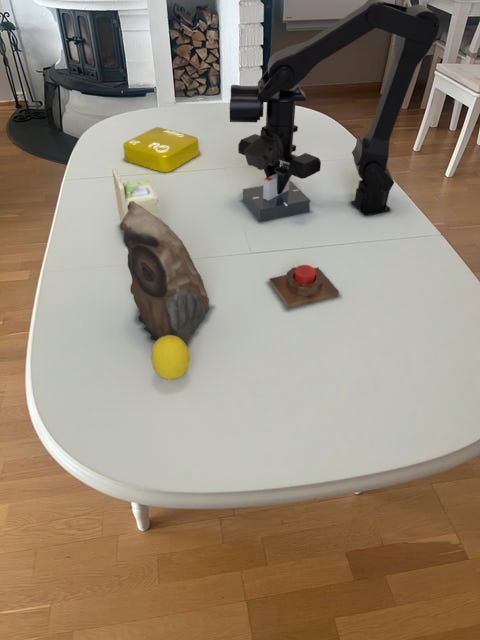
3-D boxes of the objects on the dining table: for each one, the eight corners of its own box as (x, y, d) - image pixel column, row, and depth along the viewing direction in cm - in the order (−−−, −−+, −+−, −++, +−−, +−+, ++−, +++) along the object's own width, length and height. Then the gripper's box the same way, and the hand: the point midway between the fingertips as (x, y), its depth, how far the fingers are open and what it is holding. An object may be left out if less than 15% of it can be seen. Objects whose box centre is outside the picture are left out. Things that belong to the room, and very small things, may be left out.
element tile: (201, 153, 139) (201, 135, 136) (166, 174, 130) (165, 155, 127) (158, 141, 145) (156, 124, 142) (121, 160, 136) (119, 142, 133)
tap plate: (288, 191, 123) (289, 178, 121) (310, 213, 115) (311, 200, 113) (241, 199, 120) (241, 187, 118) (260, 223, 112) (261, 210, 110)
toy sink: (163, 239, 107) (157, 180, 98) (128, 245, 105) (118, 186, 97) (154, 219, 113) (147, 162, 104) (120, 225, 111) (110, 167, 103)
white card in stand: (283, 187, 118) (284, 168, 115) (288, 190, 117) (290, 170, 114) (262, 198, 114) (263, 178, 111) (268, 200, 113) (269, 180, 110)
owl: (180, 355, 82) (170, 248, 68) (111, 335, 85) (89, 229, 72) (213, 308, 90) (209, 205, 77) (149, 291, 94) (135, 190, 81)
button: (308, 271, 95) (309, 263, 93) (318, 282, 92) (319, 274, 91) (291, 275, 94) (291, 267, 92) (299, 286, 91) (300, 278, 90)
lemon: (154, 364, 80) (149, 325, 75) (190, 362, 81) (187, 323, 75) (153, 391, 76) (147, 352, 71) (191, 389, 76) (187, 350, 71)
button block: (317, 272, 99) (319, 259, 97) (338, 296, 93) (340, 283, 91) (269, 283, 96) (269, 270, 94) (287, 309, 90) (288, 296, 88)
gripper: (219, 120, 106) (220, 190, 116) (289, 146, 96) (284, 220, 106) (256, 106, 112) (254, 174, 122) (326, 130, 102) (318, 201, 112)
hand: (276, 192), depth 115 cm, fingers closed on white card in stand, 2 cm apart
